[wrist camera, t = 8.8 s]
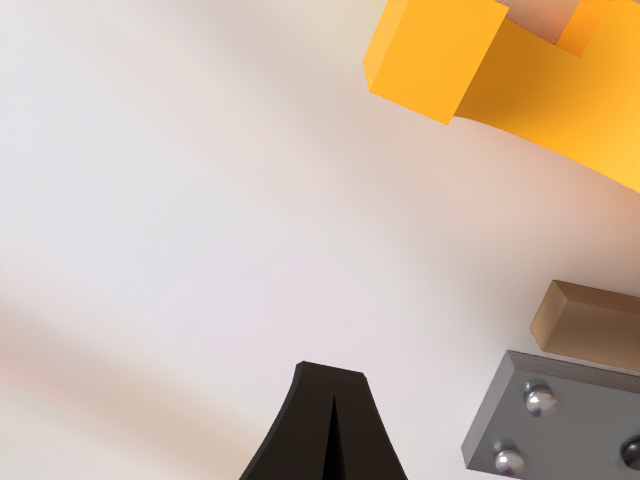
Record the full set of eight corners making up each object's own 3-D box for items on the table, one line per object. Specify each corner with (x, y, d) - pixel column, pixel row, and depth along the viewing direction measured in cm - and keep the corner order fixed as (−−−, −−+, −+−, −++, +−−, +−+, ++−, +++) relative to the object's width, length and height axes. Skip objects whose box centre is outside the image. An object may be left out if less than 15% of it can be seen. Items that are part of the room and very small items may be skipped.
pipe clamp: (752, 77, 16) (973, 120, 11) (664, 191, 18) (811, 282, 12) (422, -83, 15) (467, -135, 9) (362, 59, 17) (369, 91, 11)
